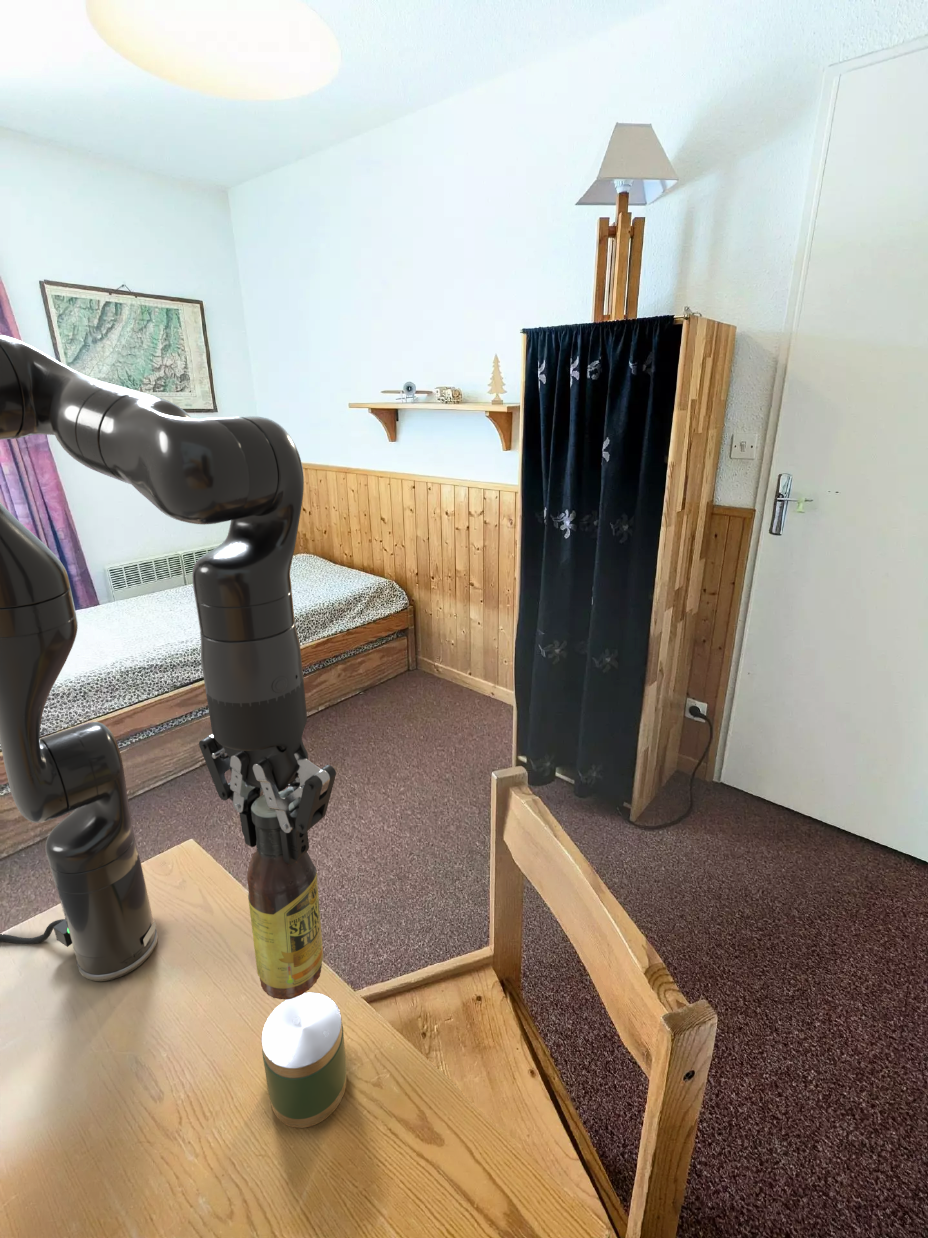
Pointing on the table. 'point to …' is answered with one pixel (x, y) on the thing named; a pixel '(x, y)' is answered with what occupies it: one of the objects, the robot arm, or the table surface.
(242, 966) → the table surface
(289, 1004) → the tin can
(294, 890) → the sauce bottle
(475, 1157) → the table surface
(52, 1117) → the table surface
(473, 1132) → the table surface
